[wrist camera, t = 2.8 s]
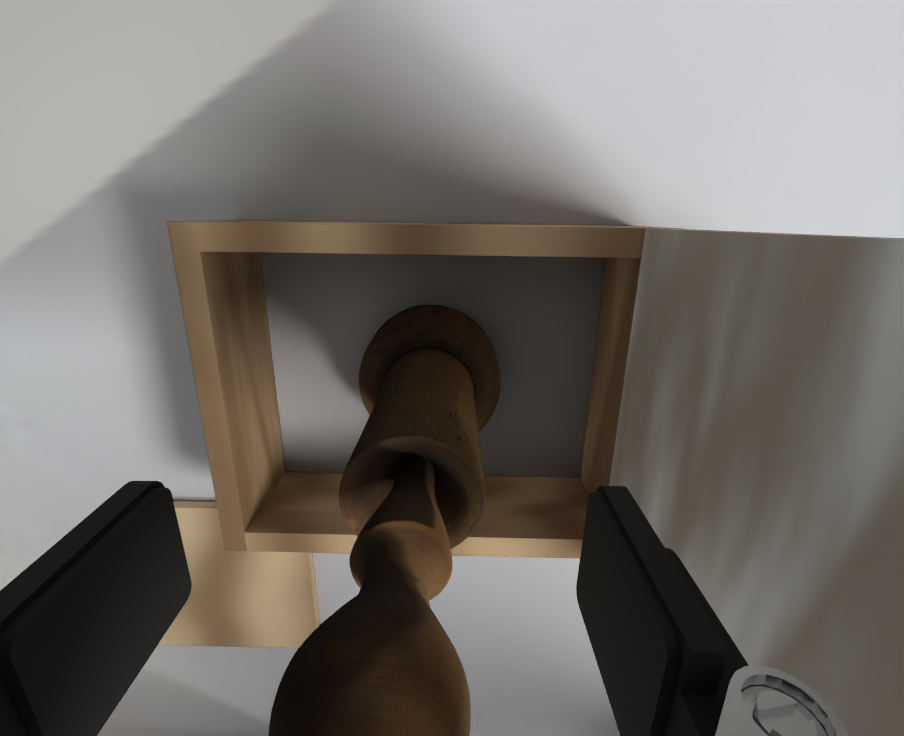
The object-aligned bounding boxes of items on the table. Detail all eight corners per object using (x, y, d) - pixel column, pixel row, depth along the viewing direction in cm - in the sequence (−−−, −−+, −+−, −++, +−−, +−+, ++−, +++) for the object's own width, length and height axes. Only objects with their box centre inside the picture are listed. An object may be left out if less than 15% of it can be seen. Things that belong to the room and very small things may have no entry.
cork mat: (307, 503, 25) (303, 510, 25) (321, 639, 29) (318, 648, 28) (128, 500, 25) (121, 506, 25) (162, 636, 29) (156, 644, 28)
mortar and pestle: (523, 384, 23) (709, 872, 6) (421, 451, 24) (333, 1011, 7) (444, 276, 21) (387, 521, 4) (340, 354, 23) (-26, 784, 6)
